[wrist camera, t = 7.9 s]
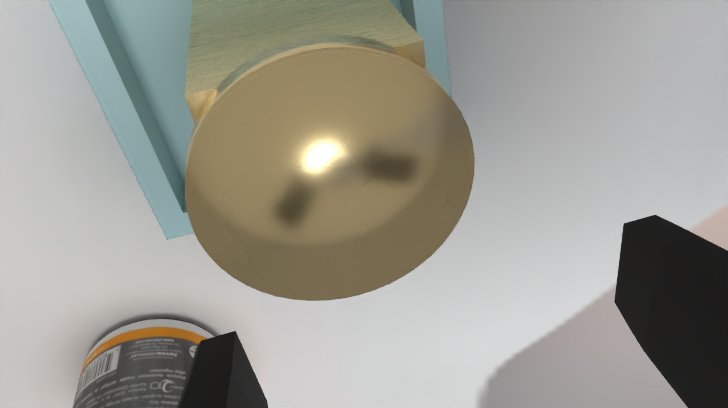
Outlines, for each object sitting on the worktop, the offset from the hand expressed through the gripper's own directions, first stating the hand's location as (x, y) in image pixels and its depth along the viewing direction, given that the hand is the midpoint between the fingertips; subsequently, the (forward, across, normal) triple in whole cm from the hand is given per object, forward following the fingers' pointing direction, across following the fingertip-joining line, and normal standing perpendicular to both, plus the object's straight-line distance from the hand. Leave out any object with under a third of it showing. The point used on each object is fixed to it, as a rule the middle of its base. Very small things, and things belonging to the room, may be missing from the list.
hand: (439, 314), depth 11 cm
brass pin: (+10, +1, -2) cm, 10 cm away
